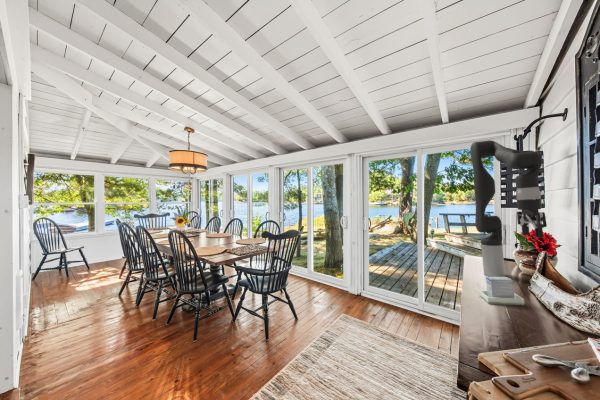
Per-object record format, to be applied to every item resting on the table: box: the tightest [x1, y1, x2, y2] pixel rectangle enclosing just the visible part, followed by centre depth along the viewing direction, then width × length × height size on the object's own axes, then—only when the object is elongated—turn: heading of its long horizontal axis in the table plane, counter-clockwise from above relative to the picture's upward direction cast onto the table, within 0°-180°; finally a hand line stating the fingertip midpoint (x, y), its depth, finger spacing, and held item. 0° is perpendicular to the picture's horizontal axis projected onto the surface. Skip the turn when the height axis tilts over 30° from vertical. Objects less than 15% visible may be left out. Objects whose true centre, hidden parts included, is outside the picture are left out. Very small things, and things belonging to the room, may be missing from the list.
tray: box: [478, 290, 525, 306], centre depth 99 cm, size 8×12×2 cm
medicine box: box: [485, 276, 515, 298], centre depth 98 cm, size 8×4×9 cm, turn 74°
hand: (532, 236), depth 100 cm, fingers open, 8 cm apart
